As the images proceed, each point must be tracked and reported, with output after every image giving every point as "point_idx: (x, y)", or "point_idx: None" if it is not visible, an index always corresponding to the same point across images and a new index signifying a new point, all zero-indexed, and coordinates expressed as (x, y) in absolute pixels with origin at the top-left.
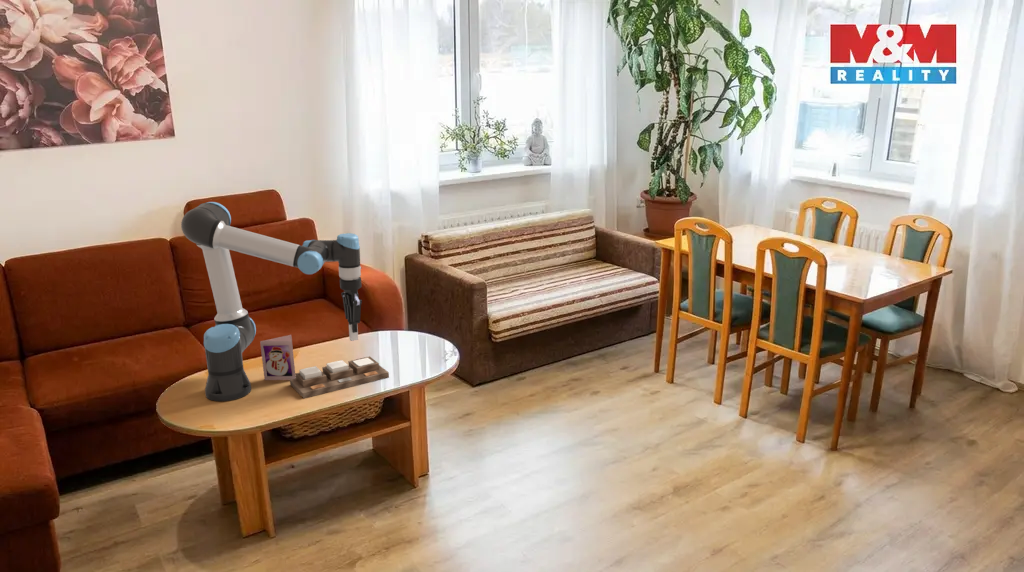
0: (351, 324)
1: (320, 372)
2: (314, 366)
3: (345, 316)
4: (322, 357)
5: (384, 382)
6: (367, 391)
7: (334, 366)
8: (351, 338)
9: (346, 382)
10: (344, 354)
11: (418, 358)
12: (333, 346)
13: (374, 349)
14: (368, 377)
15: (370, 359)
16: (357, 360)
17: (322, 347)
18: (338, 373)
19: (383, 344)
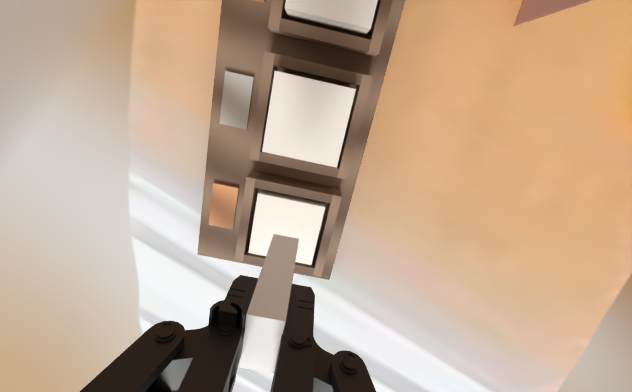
0: (246, 319)
1: (286, 1)
2: (370, 20)
3: (367, 376)
4: (537, 196)
5: (177, 212)
6: (142, 127)
7: (293, 96)
8: (271, 244)
9: (214, 93)
10: (487, 261)
11: (272, 374)
12: (579, 277)
13: (435, 341)
14: (204, 183)
15: (295, 263)
16: (315, 223)
17: (611, 248)
18: (259, 90)
19: (444, 376)
